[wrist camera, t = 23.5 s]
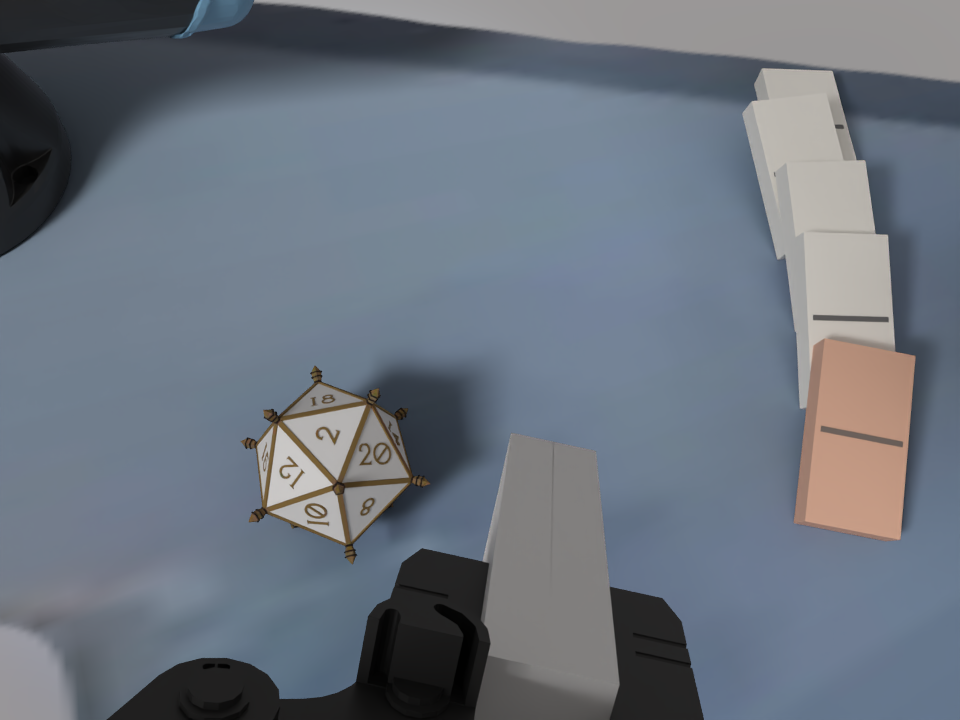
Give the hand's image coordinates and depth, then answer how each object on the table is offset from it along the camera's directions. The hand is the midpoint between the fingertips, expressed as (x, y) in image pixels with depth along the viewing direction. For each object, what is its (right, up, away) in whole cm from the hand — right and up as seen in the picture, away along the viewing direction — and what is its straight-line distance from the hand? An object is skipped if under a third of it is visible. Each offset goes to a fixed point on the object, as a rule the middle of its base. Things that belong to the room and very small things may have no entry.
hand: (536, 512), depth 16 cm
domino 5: (+18, -6, +32) cm, 38 cm away
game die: (-8, -4, +32) cm, 34 cm away
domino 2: (+20, +9, +41) cm, 47 cm away
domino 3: (+20, +5, +38) cm, 44 cm away
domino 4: (+20, 0, +36) cm, 41 cm away
